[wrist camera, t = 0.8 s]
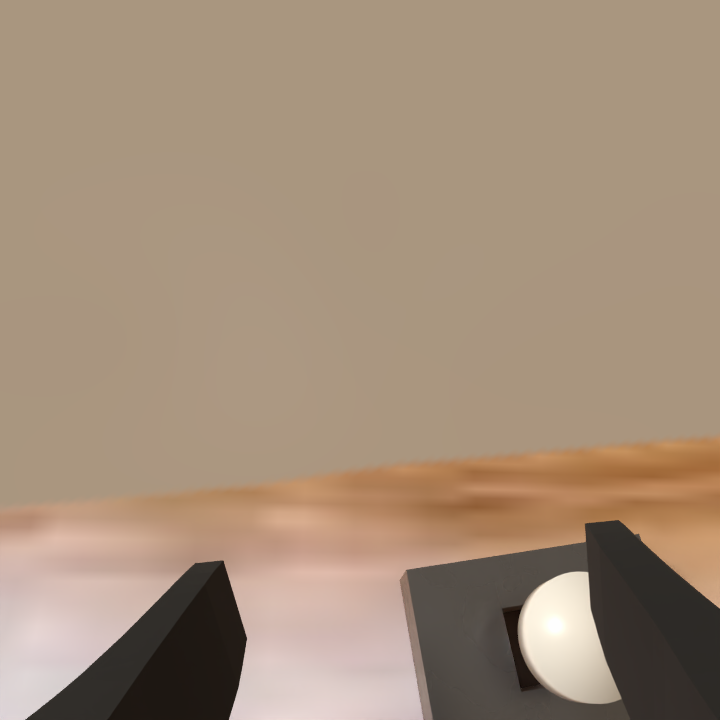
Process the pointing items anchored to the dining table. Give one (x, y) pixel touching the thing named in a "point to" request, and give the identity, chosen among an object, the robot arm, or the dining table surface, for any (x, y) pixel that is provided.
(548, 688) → the knob
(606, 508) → the dining table surface
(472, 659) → the knob plate
